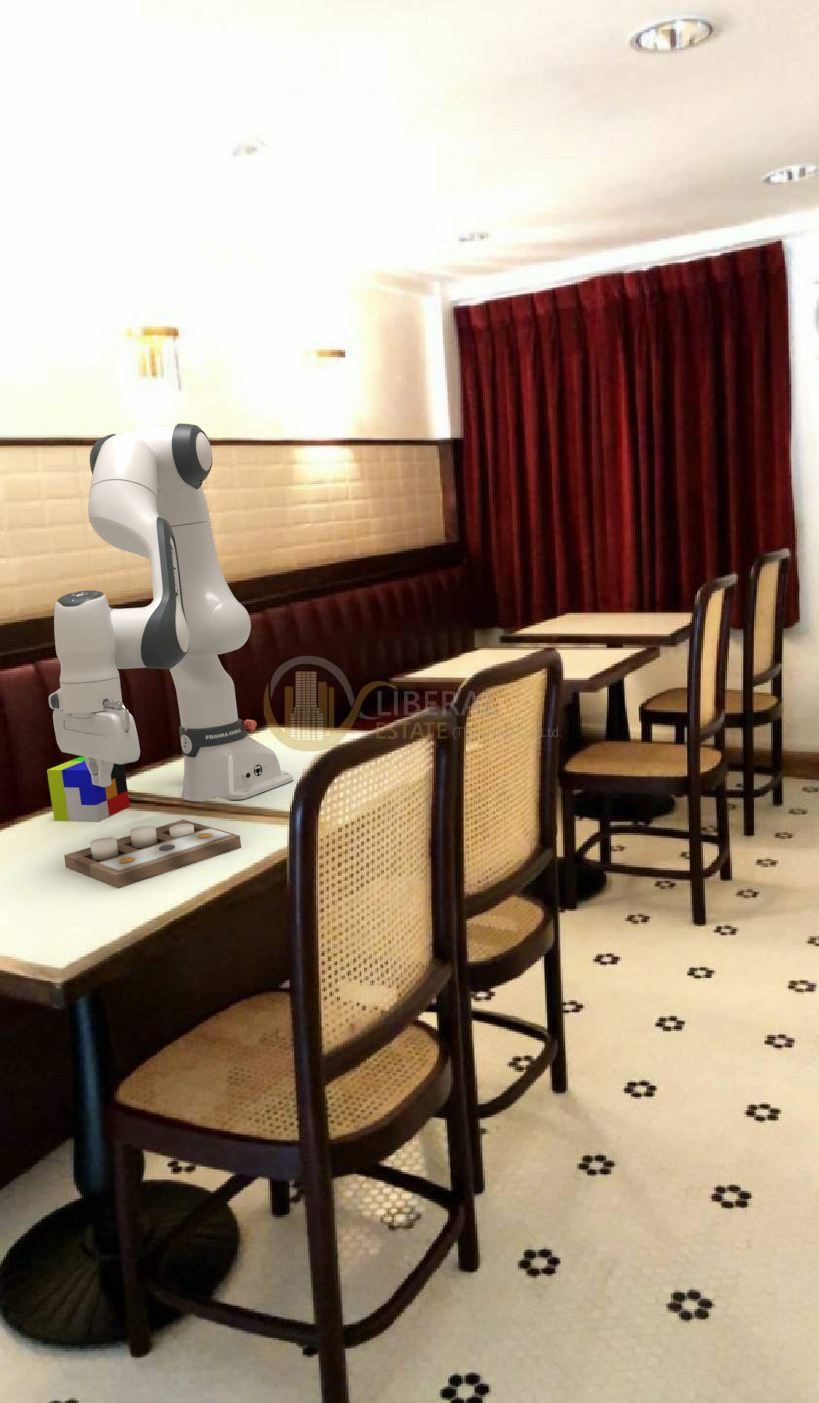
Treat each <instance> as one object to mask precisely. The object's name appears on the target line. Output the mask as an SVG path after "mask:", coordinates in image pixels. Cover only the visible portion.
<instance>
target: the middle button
mask: <svg viewBox="0 0 819 1403" xmlns="http://www.w3.org/2000/svg"><path fill="white" fill-rule="evenodd" d="M156 828H157V827H156V826H155V825H141V826H137V827H134V828H132V829H130V830H129V833H130V835H131V841H132V847H134V848H145V847H149V846H152V845H155V844H157V835H156Z"/></svg>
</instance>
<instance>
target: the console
mask: <svg viewBox="0 0 819 1403" xmlns="http://www.w3.org/2000/svg"><path fill="white" fill-rule="evenodd" d="M179 824H193V825H194V833H191V834H187V835H184V836H181V837H178V838H176V837H173V836H170V831H169V828H170V827H172V826H175V825H179ZM155 828H156V835H157V844H155V845H152V846H149V847H145V848H134V847H132V841H131V834H130V835H127V836H123V837H121V838H120V837H119V838H116V840H117V847H118V856H116V857H113V858H110V859H107V860H93V859H92V853H91V846H90V847H87V848H84V849H80V850H78V851H73V852H69V853H68V854H64V858H63V859H64V863H65V868H66V869H69V870H70V871H74V872H77V873H79V874H81V875H84V876H87V877H89V878H91V879H93V880H96V881H99V882H101V883H104V884H107V885H108V886H111V887H113V888H116V889H121V888H124V887H127V886H130V885H134V884H136V883H139V882H143V881H145V880H148V879H151V878H154V877H157V876H160V875H163V874H166V873H170V872H173V871H175V870H178V869H182V868H185V867H188V866H190V865H193V864H196V863H199V862H203V861H207V860H209V859H211V858H215V857H217V856H221V855H223V854H224V855H225V854H226V853H230V852H232V851H235V850H238V849H241V848H242V842H241V841H242V840H241V835H240V834H235V833H232V832H228V831H225V830H221V829H218V828H214V827H212V826H208V825H203V824H201V823H197V822H194V821H189V820H187V819H181V820H177V821H174V822H171V823H168V824H164V825H160V826H157V827H155Z"/></svg>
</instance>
